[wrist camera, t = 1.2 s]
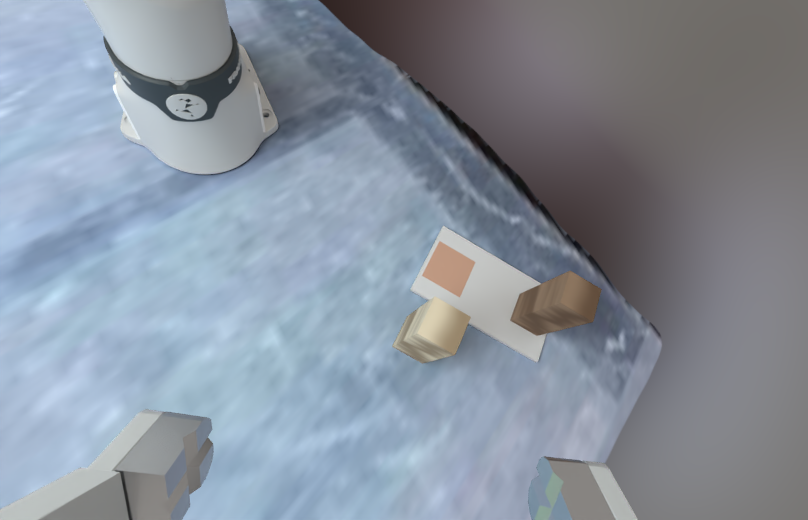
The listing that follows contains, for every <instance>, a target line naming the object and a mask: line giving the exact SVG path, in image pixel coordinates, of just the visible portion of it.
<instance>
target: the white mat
mask: <svg viewBox="0 0 808 520" xmlns="http://www.w3.org/2000/svg"><path fill="white" fill-rule="evenodd" d="M540 284H541V283H539V282H537V281H536V280H534V279H532V278H531V277H529V276H527V275H526V274H524V273H522V272H521V271H519V270H517V269H515V268H514V267H512V266H510V265H509V264H507V263H505V262H504V261H502V260H500V259H499V258H497V257H495V256H493V255H492V254H490V253H488V252H487V251H485V250H483V249H482V248H480V247H478V246H476V245H475V244H473V243H471V242H470V241H468V240H466V239H465V238H463V237H461V236H460V235H458V234H456V233H454V232H453V231H451V230H449V229H448V228H446V227H444V226H443V227H442V228H441V230H440V232H439V234H438V236H437V238H436V240H435V242H434V244H433V246H432V248H431V250H430V252H429V254H428V256H427V257H426V259H425V261H424V263H423V265H422V267H421V269H420V271H419V273H418V275H417V277H416V279H415V281H414V283H413V285H412V287H411V289H410V291H412V292H413V293H415V294H417V295H419V296H420V297H422V298H424V299H426V300H427V301H429V300H430V299H432V298H433V297H434V296H435V297H437V298H439V299H441V300H442V301H444V302H446V303H448V304H449V305H451V306H453V307H455V308H456V309H458V310H460V311H462V312H463V313H465V314H467V315H468V316H470V317H471V318H470V321H469V323H468V324H469V325H471V326H473V327H474V328H476V329H478V330H480V331H481V332H483V333H485V334H486V335H488V336H490V337H492V338H493V339H495V340H497V341H499V342H500V343H502V344H504V345H506V346H507V347H509V348H511V349H513V350H514V351H516V352H518V353H520V354H521V355H523V356H525V357H527V358H528V359H530V360H532V361H533V362H538V359H539V356H540V353H541V350H542V347H543V344H544V340H545V337H546V334H547V333H546V334H542V335H538V336H536V335H534V334H532V333H531V332H529V331H527V330H526V329H524V328H522V327H520V326H519V325H517V324H515V323H513V322H512V321H510V319H511V316H512V313H513V311H514V308H515V305H516V303H517V300H518V297H519V294H520V293H523V292H525V291H527V290H529V289H531V288H534V287H536V286H538V285H540Z"/></svg>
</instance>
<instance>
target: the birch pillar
mask: <svg viewBox="0 0 808 520" xmlns="http://www.w3.org/2000/svg"><path fill="white" fill-rule="evenodd" d="M470 318H471V317H470V316H468V315H467V314H465V313H463V312H462V311H460V310H458V309H456V308H455V307H453V306H451V305H449V304H448V303H446V302H444V301H442V300H441V299H439V298H437V297H435V296H434V297H433V298H432V299H430V300H429V301H428V302H426V303H425V304H424V305H422V306H421V307H419V308H418V309H417V310H415V311H414V312H413V313H411V314H410V315H409V316H407V318H406V320H405V322H404V324H403V326H402V328H401V330H400V332H399V334H398V336H397V338H396V340H395V342H394V344H393V346H392V347H394V348H396V349H397V350H399V351H401V352H403V353H405V354H406V355H408V356H410V357H412V358H413V359H415V360H417V361H419V362H421V363H426V362H430V361H434V360H438V359H441V358H445V357H449V356H453V355H455V354H456V352H457V349H458V347H459V344H460V342H461V340H462V337H463V335H464V332H465V330H466V328H467V325H468V323H469V321H470Z"/></svg>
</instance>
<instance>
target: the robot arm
mask: <svg viewBox="0 0 808 520" xmlns="http://www.w3.org/2000/svg"><path fill="white" fill-rule="evenodd" d="M83 1H84V3H85V4H86V6H87V8H88V9H89V11H90V12H91V14H92V16H93V18H94V19H95V21H96V23H97V24H98V26H99V28H100V29H101V31H102V33H103V35H104V43H105V47H106V49H107V51H108V53H109V54H108V55H109V58H110V60H111V62H112V64H113V66H114V68H115V69H116V71H115V72H114V78H115V81H116V84H115V85H113V90H114V93H115V95H116V97H117V99H118V101H119V103H120V104H121V106H122V108H123V110H124V111H123V116H122V121H121V126H120V129H121V131H122V133H123V135H124V137H125V138H127V139H128V140H130V141H132V142H135V143H137V144H139V145H142V146H145V147H146V148H148V149H149V150H150V151H151V152H152V153H153V154H154V155H155V156H156V157H157V158H158V159H160V160H161V161H162V162H164V163H165V164H167V165H169V166H171V167H173V168H175V169H178V170H181V171H184V172H188V173H194V174H215V173H221V172H225V171H228V170H231V169H234V168H236V167H238V166H240V165H241V164H243V163H244V162H246V161H247V160H248V159H249V158H250V157H251V156H252V155H253V154H254V153H255V152H256V150H257V149H258V147H259V145H260V144H261V142H262V141H263V140H264V139H265V138H267V137H268V136H270V135H271V134H273V133H274V132H275V131H276V130H277V129H278V126H279V125H278V121H277V118H276V116H275V113H274V111H273V109H272V107H271V105H270V103H269V100H268V98H267V96H266V94H265V92H264V89H263V87H262V85H261V83H260V81H259V78H258V76H257V74H256V72H255V70H254V67H253V65H252V63H251V61H250V59H249V57H248V54H247V52H246V50H245V48H244V47H243V46H242V45H240V44H238V42H237V40H236V37H235V34H234V32H233V30H232V28H231V26H230V25H229V20H228V15H227V9H226V4H225V0H83ZM264 116H268V117H264ZM211 431H212V424H211V419H209V418H207V417H200V416H193V415H186V414H179V413H172V412H163V411H156V410H148V409H145V410H143V411H141V412H139V413H138V414H137V415H136V416H135V417H134V418H133V419H132V420H131V421H130V422H129V424H128V425H127V426H126V427H125V428H124V429H123V430H122V431H121V432H120V433H119V434H118V435H117V436H116V438H115V439H114V440H113V441H112V442H111V443H110V444H109V445H108V446H107V447H106V448H105V449H104V451H103V452H102V453H101V454H100V455H99V456H98V457H97V458H96V459H95V460H94V461H93V462H92V463H91V465H90V466H89V467H88V468H78V469H76V470H74V471H73V472H71V473H69V474H67V475H65V476H63V477H61V478H59V479H57V480H55V481H53V482H52V483H50V484H48V485H46V486H44V487H42V488H40V489H38V490H36V491H34V492H32V493H30V494H29V495H27V496H25V497H23V498H21V499H19V500H17V501H15V502H13V503H11V504H9V505H8V506H6V507H4V508H2V509H0V520H182V519H183V517H184V515H185V514H186V512H187V510H188V508H189V507H190V497H189V495H190V494H191V493H193V492H194V491H195V490H197V489H198V488H200V487H201V486H202V484H203V482H204V480H205V478H206V476H207V474H208V472H209V469H210V466H211V463H212V459H213V452H214V451H213V443H212V442H211V441H210V439H209V438H208V436H209V434H210V432H211ZM536 468H537V470H538V473H539V476H537V477H536V478H534V479H533V480H532V481H531V484H530V487H529V494H528V504H529V511H530V515H531V519H532V520H638V519H637V517H636V516H635V514H634V512H633V510H632V509H631V507H630V505H629V503H628V501H627V500H626V498H625V496H624V494H623V493H622V491H621V489H620V487H619V486H618V484H617V482H616V480H615V479H614V477H613V475H612V473H611V471H610V470H609V468H608V467H607V466H606V465H605V464H604V463H598V462H589V461H580V460H572V459H562V458H553V457H542V458H541V459H540V460H539V462H538V464H537V467H536Z"/></svg>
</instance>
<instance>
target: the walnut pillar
mask: <svg viewBox="0 0 808 520" xmlns="http://www.w3.org/2000/svg"><path fill="white" fill-rule="evenodd" d="M601 290H602V289H600V288H598V287H597V286H595V285H593V284H592V283H590V282H588V281H587V280H585V279H583V278H582V277H580V276H578V275H577V274H575V273H573V272H572V271H568V272H566V273H564V274H562V275H560V276H558V277H555V278H553V279H551V280H549V281H547V282H544V283H542V284H540V285H538V286H536V287H534V288H531V289H529V290H527V291H525V292H523V293H520V294H519V297H518V300H517V303H516V305H515V308H514V311H513V313H512V316H511V319H510V321H512V322H513V323H515V324H517V325H519V326H520V327H522V328H524V329H526V330H527V331H529V332H531V333H532V334H534V335H536V336H538V335H542V334H546V333H550V332H554V331H559V330H563V329H567V328H571V327H575V326H579V325H583V324H587V323H591V322H593V320H594V316H595V312H596V309H597V305H598V301H599V297H600V293H601Z"/></svg>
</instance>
